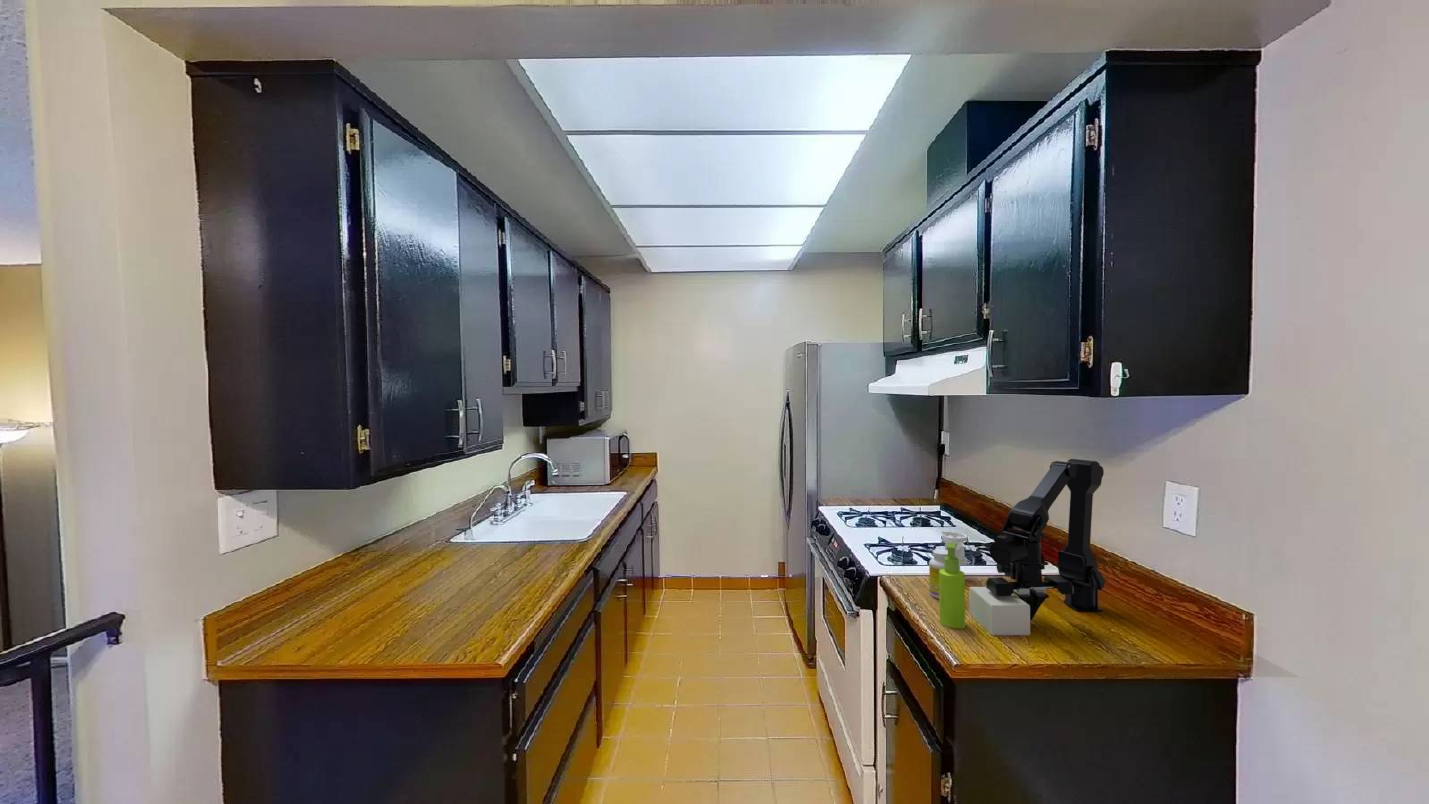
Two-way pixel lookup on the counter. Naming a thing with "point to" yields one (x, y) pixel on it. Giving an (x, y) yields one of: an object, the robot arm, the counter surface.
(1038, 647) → the counter surface
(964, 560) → the white tall piece
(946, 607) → the soap dispenser
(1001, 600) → the light grey rectangular block
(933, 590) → the supplement bottle
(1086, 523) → the robot arm
